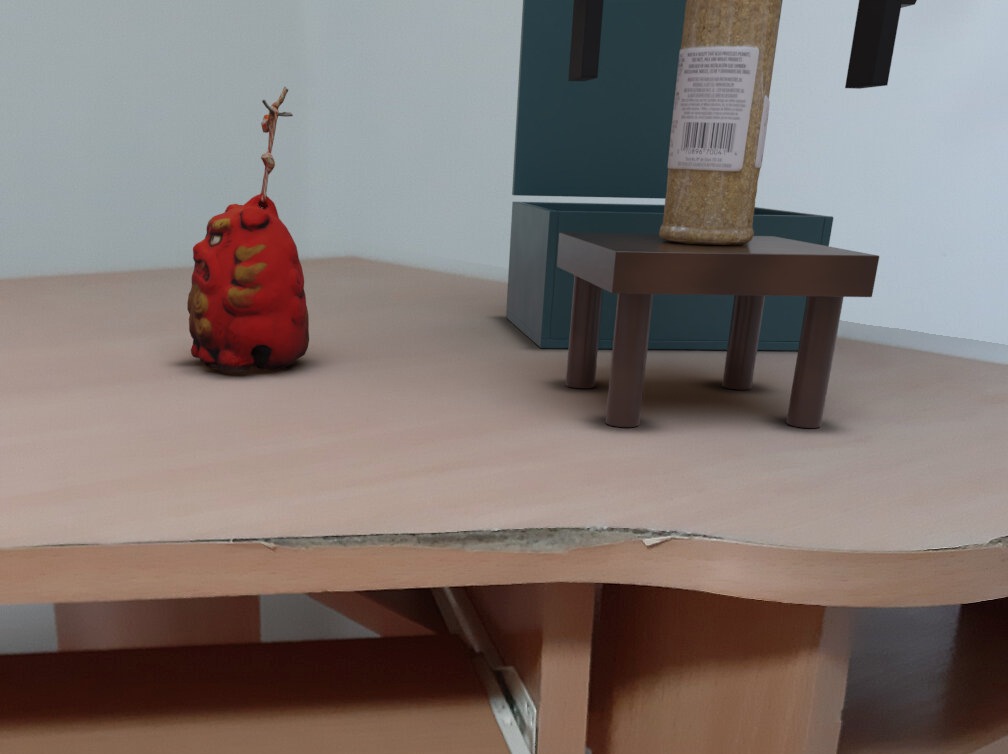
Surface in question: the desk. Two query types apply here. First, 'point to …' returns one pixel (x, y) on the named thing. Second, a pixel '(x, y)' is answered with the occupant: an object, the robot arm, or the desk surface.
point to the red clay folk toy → (249, 283)
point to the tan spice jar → (719, 120)
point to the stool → (707, 271)
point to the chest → (674, 318)
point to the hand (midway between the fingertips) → (725, 84)
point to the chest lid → (597, 102)
